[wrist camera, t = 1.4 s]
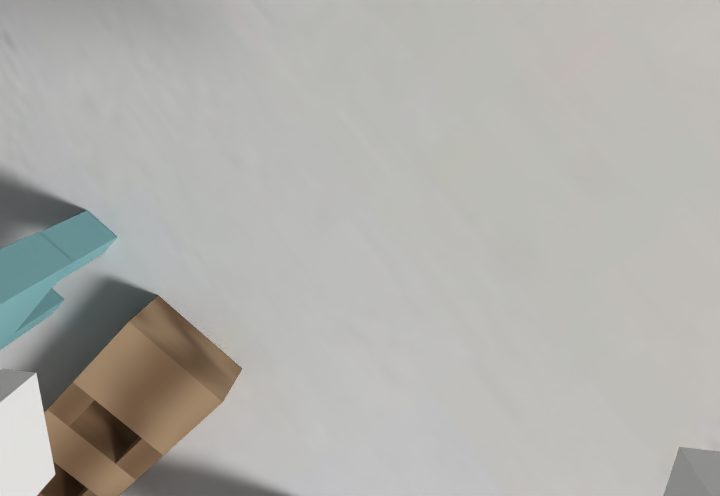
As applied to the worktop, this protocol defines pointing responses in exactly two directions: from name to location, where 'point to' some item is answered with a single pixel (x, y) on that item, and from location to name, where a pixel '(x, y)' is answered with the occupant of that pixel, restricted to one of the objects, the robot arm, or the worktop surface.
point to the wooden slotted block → (134, 403)
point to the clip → (44, 270)
